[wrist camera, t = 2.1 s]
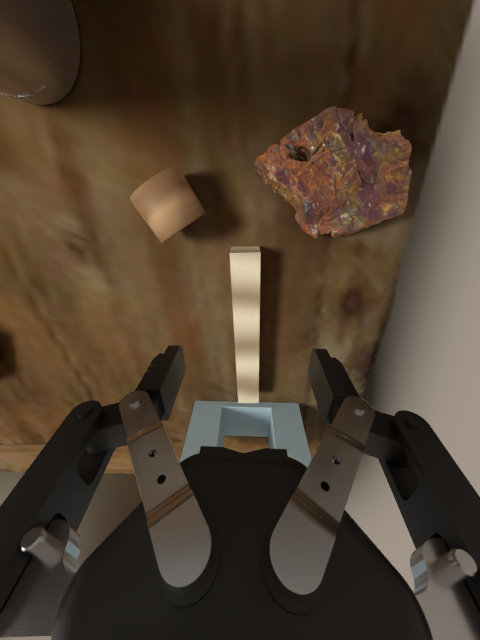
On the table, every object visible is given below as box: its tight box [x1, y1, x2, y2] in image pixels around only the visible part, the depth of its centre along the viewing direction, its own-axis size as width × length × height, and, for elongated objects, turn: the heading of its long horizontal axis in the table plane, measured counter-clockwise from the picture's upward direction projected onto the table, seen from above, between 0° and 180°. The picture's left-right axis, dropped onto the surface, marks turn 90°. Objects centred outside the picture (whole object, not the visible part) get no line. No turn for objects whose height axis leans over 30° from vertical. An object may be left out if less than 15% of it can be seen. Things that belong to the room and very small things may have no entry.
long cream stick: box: [230, 246, 261, 403], centre depth 28 cm, size 22×3×3 cm, turn 2°
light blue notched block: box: [180, 401, 311, 468], centre depth 33 cm, size 8×17×14 cm, turn 91°
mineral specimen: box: [254, 106, 412, 239], centre depth 19 cm, size 12×8×7 cm
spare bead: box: [130, 166, 206, 243], centre depth 20 cm, size 4×5×5 cm
